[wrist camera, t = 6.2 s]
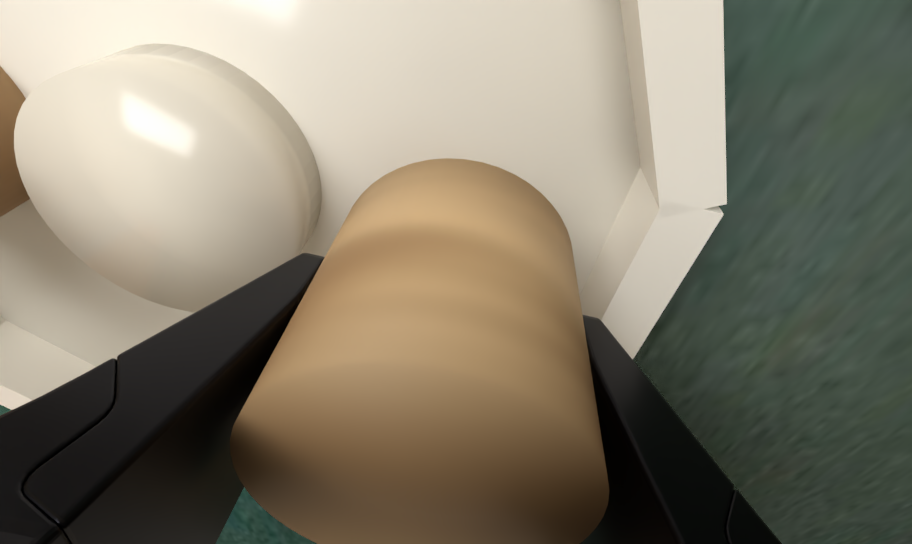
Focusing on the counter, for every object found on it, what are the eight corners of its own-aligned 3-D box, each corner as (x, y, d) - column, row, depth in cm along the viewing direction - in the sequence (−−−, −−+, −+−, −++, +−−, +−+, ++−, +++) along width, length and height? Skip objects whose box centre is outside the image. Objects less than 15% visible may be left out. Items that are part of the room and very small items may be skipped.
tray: (968, -407, 6) (1218, -576, 4) (518, 464, 17) (518, 541, 15) (-786, -928, 5) (-1715, -1516, 3) (-35, 349, 16) (-114, 413, 14)
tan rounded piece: (533, 367, 11) (539, 597, 7) (334, 323, 11) (242, 538, 7) (611, 192, 8) (683, 419, 5) (348, 130, 8) (212, 316, 4)
